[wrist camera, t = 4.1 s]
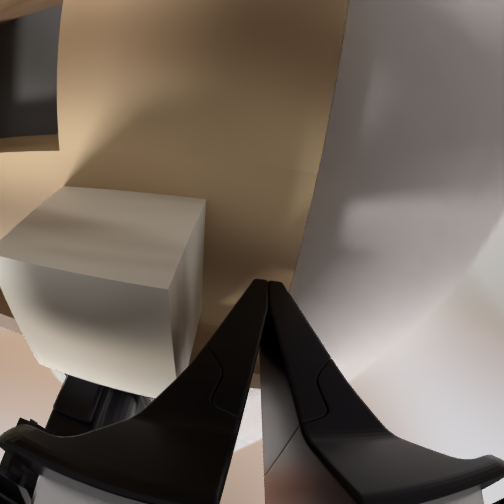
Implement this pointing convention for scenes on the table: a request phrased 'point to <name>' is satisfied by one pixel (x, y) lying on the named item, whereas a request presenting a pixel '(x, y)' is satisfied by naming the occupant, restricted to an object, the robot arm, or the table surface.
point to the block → (108, 284)
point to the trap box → (174, 120)
